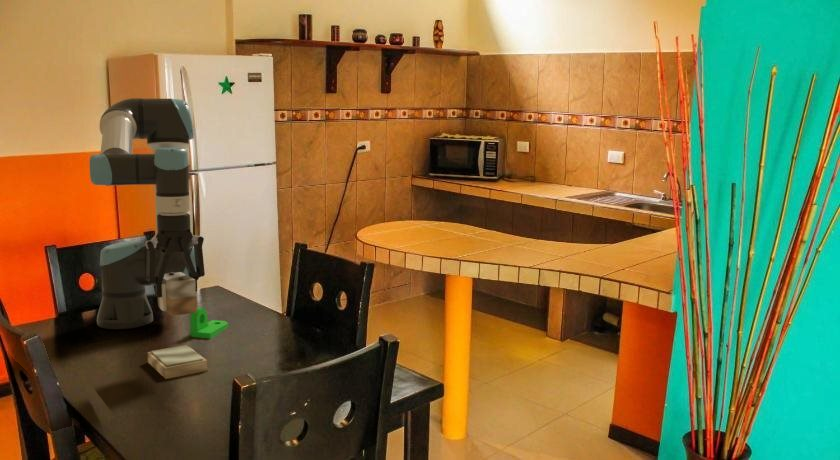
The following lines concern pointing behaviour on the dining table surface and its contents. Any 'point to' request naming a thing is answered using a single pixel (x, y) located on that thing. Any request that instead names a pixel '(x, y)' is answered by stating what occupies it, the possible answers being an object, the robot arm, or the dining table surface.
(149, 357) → the stand
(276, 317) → the dining table surface
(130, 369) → the dining table surface
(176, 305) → the block
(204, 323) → the mechanical part
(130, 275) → the robot arm
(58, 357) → the dining table surface
